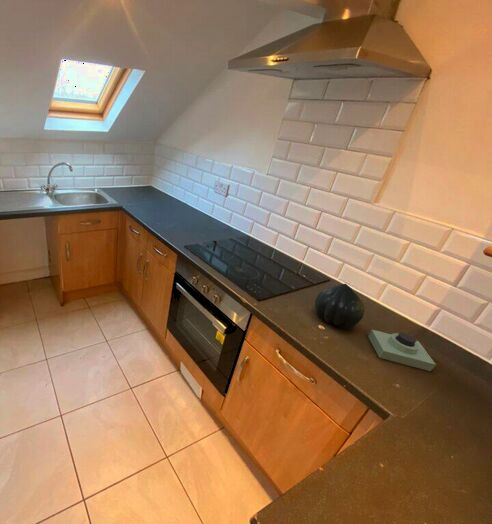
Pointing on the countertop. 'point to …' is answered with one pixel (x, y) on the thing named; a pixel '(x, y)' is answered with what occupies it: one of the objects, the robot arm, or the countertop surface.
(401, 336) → the button
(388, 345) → the knob plate
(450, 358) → the countertop surface
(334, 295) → the squash
